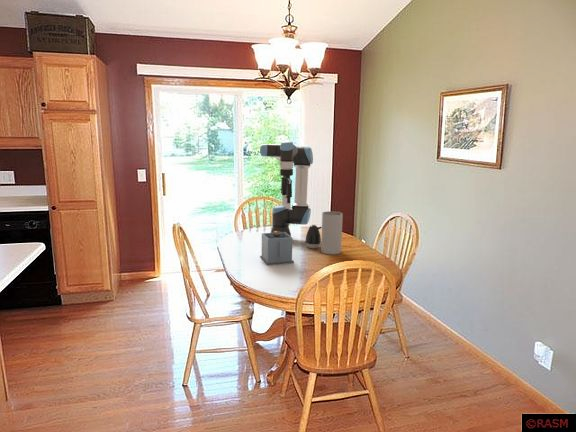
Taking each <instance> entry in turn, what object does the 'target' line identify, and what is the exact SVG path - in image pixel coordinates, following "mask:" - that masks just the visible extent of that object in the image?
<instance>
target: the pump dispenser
mask: <svg viewBox="0 0 576 432" xmlns="http://www.w3.org/2000/svg"><path fill="white" fill-rule="evenodd" d="M320 229H321V230H322V226H317V225H316V224H312V225H310V226H309V227H308V230H307V232H306V235H305V244H306V247H308V248H309V249H317V248H320V247H321V242H322V235H321V232H320Z"/></svg>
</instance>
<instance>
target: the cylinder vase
mask: <svg viewBox="0 0 576 432" xmlns="http://www.w3.org/2000/svg"><path fill="white" fill-rule="evenodd" d="M321 215H322V216H321V217H322V218H321V227H322V228H321V243H320V247H321V248H320V251H321V253H323V254H326V255H332V256H333V255H339V254H341V252H342V241H343V240H342V238H343V212H341V211H329V210H327V211H323V212H322V214H321Z"/></svg>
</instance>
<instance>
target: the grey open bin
mask: <svg viewBox="0 0 576 432" xmlns="http://www.w3.org/2000/svg"><path fill="white" fill-rule="evenodd" d="M259 258H260V259H261V260H262V261H263V263H265V265H267V266H273V265H285V264H294V260H293V237H292V235H291V236H290V235H288V234H287V233H286V232H280V236H279V237H278V238H276V237H275V236H273V233H271V232H263V233H261V255H259Z"/></svg>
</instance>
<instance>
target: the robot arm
mask: <svg viewBox="0 0 576 432" xmlns="http://www.w3.org/2000/svg"><path fill="white" fill-rule="evenodd" d="M259 154H260V156H261V157H265V158H266V157H270V158H274V159H276V160H278V161H280V162H279V167H280V170H279V175H280V176H282V177H280V180H281V184H280V185H281V187H280V194H281V197H282V198H281V204H280V205H274V207H273V208H272V213H271V214H272V226H271V227H272V228H271V230H270V233H273V232H274V231H280V232H286V233H287V234H288V235H290V236H291V237H292V233H291V230H290V225H300V226H301V225H308V224H309V222H310V217H311V212H312V211H311V208H310V207H309V204H308V201H307V200H308V181H309V178H308V177H309V168H311V165H312V164H313V163H314V154H313V150H312V148H311V147H309V146H296V145H295V144H294V143H293V141H281V142H280V144H279V143H277V144H275V143H263V144H261V145H260V147H259ZM293 168H295V180H294V181H295V182H294V202H293V204H292V203H291V200H292V199H291V198H292V197H293V185H292V184H293V179H291V177H292V176H293V175H294V169H293ZM291 204H292V205H291Z"/></svg>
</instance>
